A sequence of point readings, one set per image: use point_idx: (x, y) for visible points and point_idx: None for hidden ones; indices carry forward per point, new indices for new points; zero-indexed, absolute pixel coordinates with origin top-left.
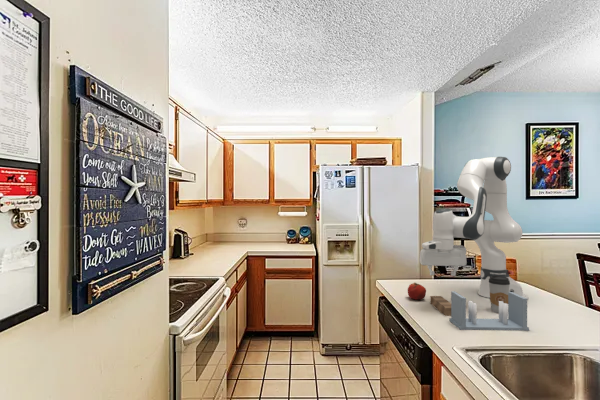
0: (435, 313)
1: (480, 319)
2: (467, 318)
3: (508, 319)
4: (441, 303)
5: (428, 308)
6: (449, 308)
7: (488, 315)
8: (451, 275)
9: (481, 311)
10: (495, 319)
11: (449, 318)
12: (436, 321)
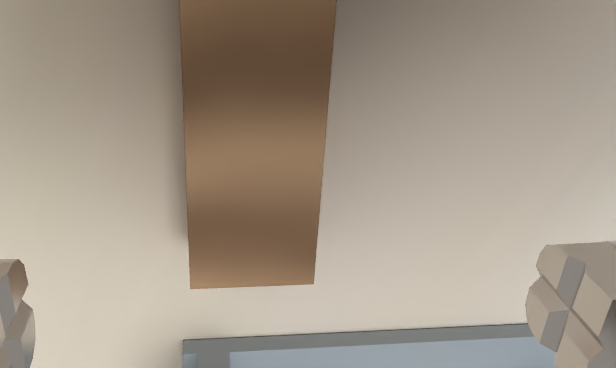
0: (119, 176)
1: (415, 359)
2: (329, 348)
3: None
4: (202, 159)
5: (85, 4)
6: (235, 280)
7: (578, 209)
8: (537, 266)
9: (604, 106)
10: (524, 349)
11: (183, 353)
12: (67, 361)
